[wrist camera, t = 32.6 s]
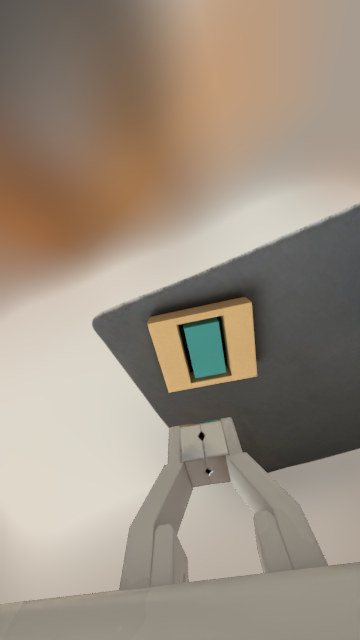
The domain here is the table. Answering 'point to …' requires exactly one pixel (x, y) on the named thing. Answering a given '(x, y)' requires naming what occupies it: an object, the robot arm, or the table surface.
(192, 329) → the teal block
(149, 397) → the table surface
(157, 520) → the robot arm
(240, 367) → the wooden slot frame
